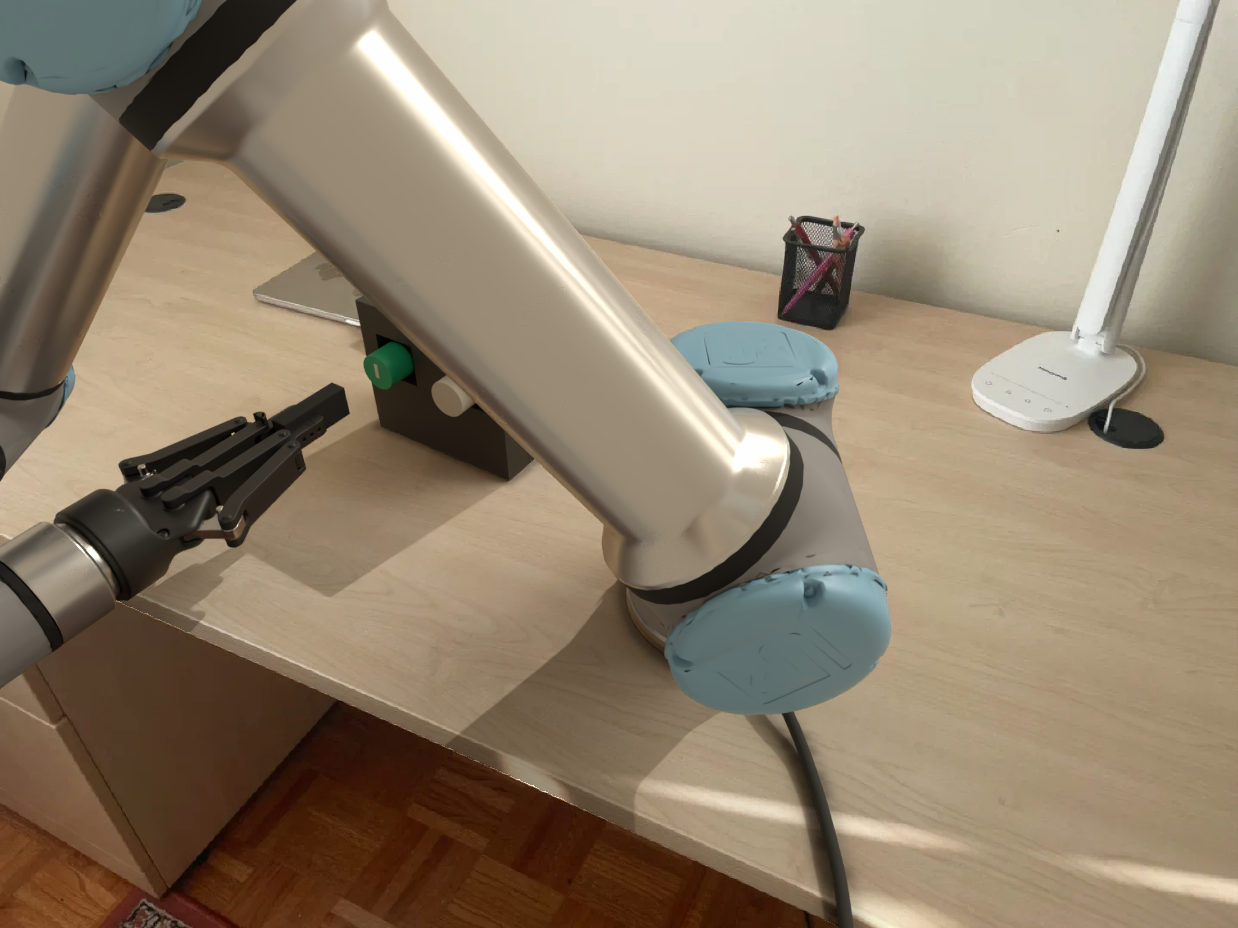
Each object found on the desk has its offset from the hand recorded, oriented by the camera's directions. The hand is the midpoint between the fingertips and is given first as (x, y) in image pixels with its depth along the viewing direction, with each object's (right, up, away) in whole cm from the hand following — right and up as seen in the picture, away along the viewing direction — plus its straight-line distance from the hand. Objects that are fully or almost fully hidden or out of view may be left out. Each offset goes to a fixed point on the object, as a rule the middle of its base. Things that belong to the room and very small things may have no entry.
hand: (340, 398), depth 78 cm
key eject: (+10, -1, +2) cm, 10 cm away
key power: (+3, +2, +5) cm, 6 cm away
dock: (+9, -2, +11) cm, 15 cm away
